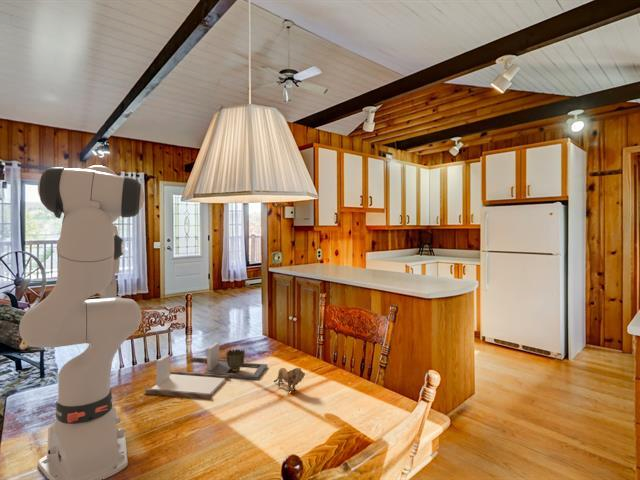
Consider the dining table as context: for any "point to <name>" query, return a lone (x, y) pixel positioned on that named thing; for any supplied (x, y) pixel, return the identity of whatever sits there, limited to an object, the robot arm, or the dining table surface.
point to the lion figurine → (290, 377)
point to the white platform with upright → (183, 380)
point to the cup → (235, 359)
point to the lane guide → (184, 393)
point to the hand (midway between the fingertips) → (104, 306)
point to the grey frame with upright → (222, 366)
